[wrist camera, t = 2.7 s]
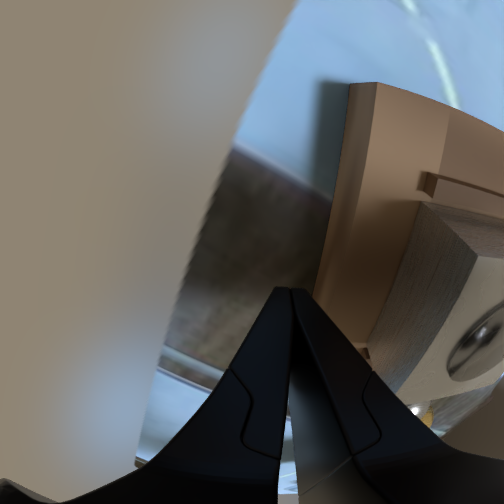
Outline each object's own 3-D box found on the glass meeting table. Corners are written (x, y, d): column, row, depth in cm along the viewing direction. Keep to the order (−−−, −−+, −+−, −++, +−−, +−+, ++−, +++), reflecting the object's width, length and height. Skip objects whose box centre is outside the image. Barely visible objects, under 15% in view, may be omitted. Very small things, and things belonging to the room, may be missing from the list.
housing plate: (487, 334, 14) (505, 367, 11) (299, 344, 14) (303, 395, 11) (558, 172, 8) (593, 195, 5) (349, 83, 8) (386, 81, 5)
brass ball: (414, 408, 19) (423, 441, 16) (380, 413, 19) (388, 449, 16) (434, 386, 17) (446, 422, 14) (398, 392, 17) (410, 431, 14)
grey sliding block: (469, 336, 10) (494, 386, 8) (366, 343, 10) (384, 411, 8) (525, 226, 7) (572, 270, 4) (421, 201, 7) (481, 260, 4)
